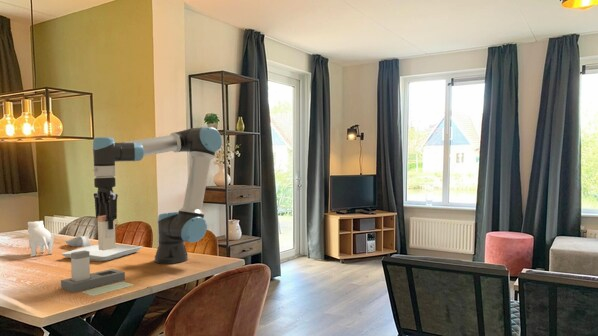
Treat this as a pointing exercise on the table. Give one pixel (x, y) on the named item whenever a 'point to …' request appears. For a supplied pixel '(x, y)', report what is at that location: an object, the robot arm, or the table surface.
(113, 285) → the green mat
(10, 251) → the table surface
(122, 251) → the square plate
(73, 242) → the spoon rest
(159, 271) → the table surface
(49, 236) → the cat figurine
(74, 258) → the grey plug
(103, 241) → the cream plug
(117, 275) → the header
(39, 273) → the table surface
